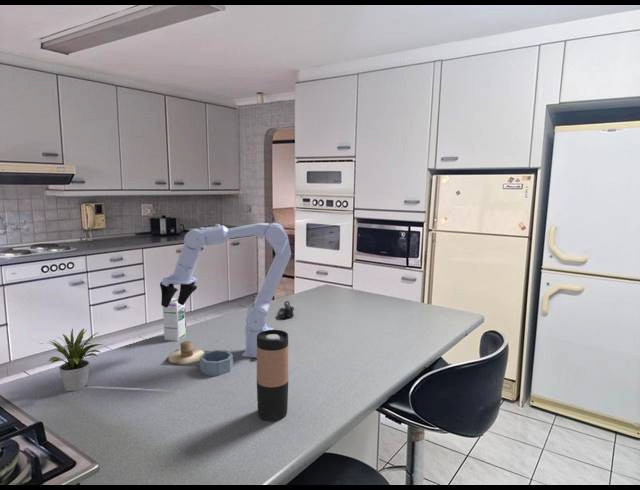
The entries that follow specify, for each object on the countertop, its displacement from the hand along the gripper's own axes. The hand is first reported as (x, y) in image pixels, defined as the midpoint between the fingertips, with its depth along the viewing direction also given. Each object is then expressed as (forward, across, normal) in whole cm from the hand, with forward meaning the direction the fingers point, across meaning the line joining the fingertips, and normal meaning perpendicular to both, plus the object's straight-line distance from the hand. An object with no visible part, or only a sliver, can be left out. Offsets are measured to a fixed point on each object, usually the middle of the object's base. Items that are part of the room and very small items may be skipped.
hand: (172, 305), depth 131 cm
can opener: (+4, -59, +16) cm, 61 cm away
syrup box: (+17, -15, -5) cm, 24 cm away
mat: (+15, -2, +10) cm, 18 cm away
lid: (+14, -2, +10) cm, 17 cm away
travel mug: (+6, +16, +49) cm, 52 cm away
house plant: (+24, +25, -4) cm, 35 cm away
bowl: (+11, +1, +23) cm, 26 cm away
